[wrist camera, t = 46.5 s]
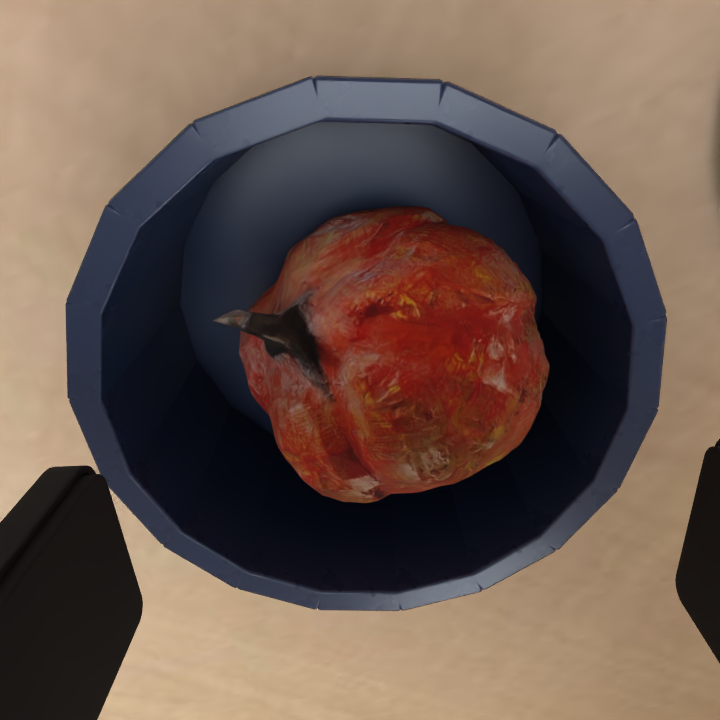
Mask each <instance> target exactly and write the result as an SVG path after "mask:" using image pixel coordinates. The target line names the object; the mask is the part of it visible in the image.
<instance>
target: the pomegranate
mask: <svg viewBox="0 0 720 720" xmlns="http://www.w3.org/2000/svg"><path fill="white" fill-rule="evenodd" d="M536 303H537V296H536V295H535V292H534V290H533V288H532V286H531V284H530V282H529V280H528V279H527V278H526V277H525V275H523V273H522V272H521V271H520V269H519V267H518V265H517V264H516V263H515V262H513V261H512V260H511V259H510V257H509V256H508V255H507V253H506V252H505V251H504V250H503V248H501V247H500V246H498V245H496V244H495V243H494V241H493V240H492V239H489V238H487V237H485V236H484V235H481V234H479V233H478V232H476V231H474V230H471V229H468V228H466V227H461V226H454V225H450V224H449V223H448V222H447V221H446V220H444V219H443V218H442V217H441V216H440V214H437V213H435V212H434V211H432V210H431V209H430V208H426V207H420V206H394V207H387V208H378V209H368V210H361V211H356V212H352V213H348V214H344V215H340V216H335V217H333V218H331V219H329V220H327V221H326V222H324V223H323V224H321V225H319V226H318V227H317V228H316V229H315V230H314V231H313V232H312V233H310V234H309V235H308V236H306V237H305V238H303V239H302V240H301V241H299V242H298V243H297V244H295V245H294V246H293V247H292V248H291V249H290V250H289V251H288V253H287V256H286V259H285V262H284V265H283V267H282V270H281V272H280V275H279V277H278V280H277V282H276V283H275V284H274V285H273V286H271V287H270V288H269V289H268V290H267V291H266V292H264V293H263V294H262V295H261V297H260V298H259V299H258V300H257V301H256V302H255V303H254V304H253V305H252V306H251V307H250V308H249V309H248V311H243V310H234V311H231V312H228V313H226V314H224V315H222V316H220V317H218V318H217V319H215V320H213V321H215V322H218V323H222V324H225V325H229V326H231V327H234V328H236V329H238V330H241V331H240V346H239V355H240V357H241V360H242V362H243V365H244V368H245V372H246V376H247V381H248V386H249V388H250V391H251V394H252V395H253V397H254V398H255V400H256V401H257V402H258V403H259V405H260V406H261V407H262V408H263V409H264V410H265V411H266V413H267V414H268V415H269V416H270V419H271V422H272V427H273V432H274V436H275V440H276V443H277V445H278V448H279V449H280V451H281V452H282V454H283V456H284V457H285V459H286V460H287V461H288V462H289V463H290V464H291V465H292V467H293V468H294V469H295V471H296V472H297V473H298V475H299V476H300V477H301V478H302V480H303V481H304V482H305V483H307V484H308V485H309V486H311V487H312V488H313V489H314V490H316V491H317V492H319V493H320V494H322V495H323V496H327V497H330V498H333V499H336V500H339V501H342V502H358V503H369V502H374V501H379V500H381V499H382V498H384V497H386V496H388V495H390V494H397V493H415V492H422V491H426V490H429V489H432V488H436V487H439V486H444V485H450V484H455V483H457V482H459V481H461V480H464V479H466V478H468V477H470V476H472V475H473V474H475V473H477V472H478V471H480V470H482V469H483V468H485V467H487V466H488V465H490V464H492V463H494V462H497V461H500V460H501V459H502V458H503V457H505V456H506V455H507V454H508V453H509V452H511V451H512V450H513V449H515V448H516V447H517V446H519V445H520V444H521V442H522V441H523V439H524V438H525V436H526V435H527V433H528V431H529V430H530V428H531V426H532V424H533V422H534V419H535V417H536V415H537V413H538V411H539V408H540V406H541V400H542V391H543V389H544V388H545V385H546V383H547V378H548V373H549V366H550V365H549V363H548V360H547V358H546V356H545V352H544V345H543V340H542V339H541V338H540V333H539V332H538V330H537V325H536V322H535V317H534V313H535V306H536Z"/></svg>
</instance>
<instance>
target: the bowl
mask: <svg viewBox="0 0 720 720" xmlns="http://www.w3.org/2000/svg"><path fill="white" fill-rule="evenodd" d="M394 206H420V207H426V208H430V209H431V210H432V211H434V212H435V213H437V214H440V216H441V217H442V218H443V219H444V220H446V221H447V222H448V223H449V224H450V225H454V226H461V227H466V228H468V229H471V230H474V231H476V232H478V233H479V234H481V235H484V236H485V237H487V238H489V239H492V240H493V241H494V243H495V244H496V245H498V246H500V247H501V248H503V250H504V251H505V252H506V253H507V255H508V256H509V257H510V259H511V260H512V261H513V262H515V263H516V264H517V265H518V267H519V269H520V271H521V272H522V273H523V275H525V277H526V278H527V279H528V280H529V282H530V284H531V286H532V288H533V290H534V292H535V295H536V296H537V303H536V306H535V313H534V317H535V322H536V325H537V330H538V332H539V333H540V338H541V339H542V340H543V345H544V352H545V356H546V358H547V360H548V363H549V365H550V366H549V373H548V378H547V383H546V385H545V388H544V389H543V391H542V400H541V406H540V408H539V411H538V413H537V415H536V417H535V419H534V422H533V424H532V426H531V428H530V430H529V431H528V433H527V435H526V436H525V438H524V439H523V441H522V442H521V444H520V445H519V446H517V447H516V448H515V449H513V450H512V451H511V452H509V453H508V454H507V455H506V456H505V457H503V458H502V459H501V460H500V461H497V462H494V463H492V464H490V465H488V466H487V467H485V468H483V469H482V470H480V471H478V472H477V473H475V474H473V475H472V476H470V477H468V478H466V479H464V480H461V481H459V482H457V483H455V484H450V485H444V486H439V487H436V488H432V489H429V490H426V491H422V492H415V493H397V494H390V495H388V496H386V497H384V498H382V499H381V500H379V501H374V502H369V503H358V502H342V501H339V500H336V499H333V498H330V497H327V496H323V495H322V494H320V493H319V492H317V491H316V490H314V489H313V488H312V487H311V486H309V485H308V484H307V483H305V482H304V481H303V480H302V478H301V477H300V476H299V475H298V473H297V472H296V471H295V469H294V468H293V467H292V465H291V464H290V463H289V462H288V461H287V460H286V459H285V457H284V456H283V454H282V452H281V451H280V449H279V448H278V445H277V443H276V440H275V436H274V432H273V427H272V422H271V419H270V416H269V415H268V414H267V413H266V411H265V410H264V409H263V408H262V407H261V406H260V405H259V403H258V402H257V401H256V400H255V398H254V397H253V395H252V394H251V391H250V388H249V386H248V381H247V376H246V372H245V368H244V365H243V362H242V360H241V357H240V355H239V346H240V331H241V330H238V329H236V328H234V327H231V326H229V325H225V324H222V323H218V322H215V321H213V320H215V319H217V318H218V317H220V316H222V315H224V314H226V313H228V312H231V311H234V310H243V311H248V309H249V308H250V307H251V306H252V305H253V304H254V303H255V302H256V301H257V300H258V299H259V298H260V297H261V295H262V294H263V293H264V292H266V291H267V290H268V289H269V288H270V287H271V286H273V285H274V284H275V283H276V282H277V280H278V277H279V275H280V272H281V270H282V267H283V265H284V262H285V259H286V256H287V253H288V251H289V250H290V249H291V248H292V247H293V246H294V245H295V244H297V243H298V242H299V241H301V240H302V239H303V238H305V237H306V236H308V235H309V234H310V233H312V232H313V231H314V230H315V229H316V228H317V227H318V226H319V225H321V224H323V223H324V222H326V221H327V220H329V219H331V218H333V217H335V216H340V215H344V214H348V213H352V212H356V211H361V210H368V209H378V208H387V207H394ZM633 217H634V216H633V213H632V212H631V211H630V210H629V209H628V208H627V206H626V205H625V204H624V203H623V202H622V201H621V200H620V199H619V198H618V196H617V195H616V194H615V193H614V192H613V191H612V190H611V189H610V188H609V186H608V185H607V184H606V183H605V182H604V181H603V180H602V179H601V178H600V176H599V175H598V174H597V173H596V172H595V171H594V170H593V169H592V168H591V166H590V165H589V164H588V163H587V162H586V161H585V160H584V159H583V158H582V157H581V155H580V154H579V153H578V152H577V151H576V150H575V149H574V148H573V147H572V145H571V144H570V143H569V142H568V141H567V140H566V139H565V138H564V137H563V135H561V134H558V133H557V132H556V131H555V129H552V128H550V127H548V126H546V125H544V124H541V123H539V122H537V121H535V120H533V119H530V118H528V117H526V116H524V115H522V114H519V113H517V112H515V111H513V110H511V109H508V108H506V107H504V106H502V105H499V104H497V103H495V102H493V101H491V100H488V99H486V98H484V97H482V96H480V95H477V94H475V93H473V92H471V91H469V90H466V89H464V88H462V87H460V86H458V85H455V84H453V83H451V82H443V81H442V80H440V79H412V78H379V77H347V76H316V77H307V78H304V79H302V80H299V81H297V82H294V83H291V84H289V85H286V86H283V87H281V88H278V89H275V90H273V91H270V92H267V93H265V94H262V95H260V96H257V97H254V98H252V99H249V100H246V101H244V102H241V103H238V104H236V105H233V106H230V107H228V108H225V109H223V110H220V111H217V112H215V113H212V114H209V115H207V116H204V117H201V118H199V119H196V120H194V121H193V123H191V124H189V125H188V126H187V127H186V128H185V129H183V130H182V131H181V132H180V133H179V134H178V135H177V136H176V137H175V138H174V139H173V140H172V141H171V142H170V143H169V144H168V145H167V146H166V147H165V148H164V149H163V150H162V151H161V152H159V153H158V154H157V155H156V156H155V157H154V158H153V159H152V160H151V161H150V162H149V163H148V164H147V165H146V166H145V167H144V168H143V169H142V170H141V171H140V172H139V173H138V174H137V175H135V176H134V177H133V178H132V179H131V180H130V181H129V182H128V183H127V184H126V185H125V186H124V187H123V188H122V189H121V190H120V191H119V192H118V193H117V194H116V195H115V196H114V197H113V198H111V199H110V201H109V204H107V205H106V206H105V208H104V210H103V213H102V215H101V218H100V220H99V222H98V225H97V227H96V230H95V232H94V235H93V237H92V239H91V242H90V244H89V247H88V249H87V252H86V254H85V256H84V259H83V261H82V264H81V266H80V269H79V271H78V273H77V276H76V278H75V281H74V283H73V286H72V288H71V290H70V293H69V295H68V298H67V302H66V342H67V388H68V398H69V402H70V404H71V407H72V409H73V411H74V414H75V416H76V418H77V421H78V423H79V425H80V428H81V430H82V432H83V435H84V437H85V439H86V442H87V444H88V446H89V449H90V451H91V453H92V456H93V458H94V460H95V463H96V465H97V467H98V470H99V472H100V474H101V475H103V476H104V477H105V479H106V481H107V484H108V487H109V488H110V489H111V490H112V491H113V492H114V493H115V494H116V495H117V496H118V498H119V499H120V500H121V501H122V502H123V503H124V504H125V505H126V506H127V507H128V508H129V509H130V511H131V512H132V513H133V514H134V515H135V516H136V517H137V518H138V519H139V520H140V521H141V523H142V524H143V525H144V526H145V527H146V528H147V529H148V530H149V531H150V532H151V533H152V534H153V536H154V537H155V538H156V539H157V540H158V541H159V542H160V543H161V544H164V547H165V548H167V549H169V550H170V551H172V552H174V553H176V554H177V555H179V556H181V557H182V558H184V559H186V560H188V561H189V562H191V563H193V564H194V565H196V566H198V567H200V568H201V569H203V570H205V571H206V572H208V573H210V574H212V575H213V576H215V577H217V578H218V579H220V580H222V581H224V582H225V583H227V584H229V585H230V586H232V587H234V588H236V587H237V588H238V589H240V590H244V591H248V592H251V593H255V594H259V595H263V596H266V597H270V598H274V599H278V600H281V601H285V602H289V603H293V604H296V605H300V606H304V607H308V608H311V609H317V608H318V609H319V610H363V611H399V610H400V609H401V610H403V611H404V610H408V609H412V608H416V607H420V606H424V605H428V604H432V603H436V602H440V601H445V600H449V599H453V598H457V597H461V596H465V595H469V594H473V593H477V592H481V591H482V589H483V590H485V589H487V588H489V587H491V586H493V585H495V584H496V583H498V582H500V581H502V580H504V579H506V578H507V577H509V576H511V575H513V574H515V573H517V572H518V571H520V570H522V569H524V568H526V567H528V566H529V565H531V564H533V563H535V562H537V561H539V560H540V559H542V558H544V557H546V556H548V555H549V554H551V553H553V552H555V551H556V549H557V550H558V549H560V548H561V547H562V546H563V545H564V544H565V543H566V542H567V541H568V540H569V539H570V538H571V537H572V536H573V535H574V534H575V533H576V532H577V531H578V530H579V529H580V528H581V527H582V526H583V525H584V524H585V523H586V522H587V521H588V520H589V519H590V518H591V517H592V516H593V515H594V514H595V513H596V512H597V511H598V510H599V509H600V508H601V507H602V506H603V505H604V504H605V503H606V502H607V501H608V500H609V499H610V498H611V497H612V496H613V495H614V494H615V493H616V492H617V490H618V488H620V486H621V484H622V482H623V480H624V478H625V476H626V474H627V472H628V470H629V468H630V466H631V464H632V462H633V460H634V458H635V456H636V454H637V452H638V450H639V448H640V446H641V444H642V442H643V440H644V438H645V436H646V434H647V432H648V430H649V428H650V426H651V424H652V422H653V420H654V418H655V416H656V414H657V412H658V409H657V408H658V406H659V397H660V387H661V376H662V365H663V355H664V344H665V334H666V323H667V318H666V315H665V314H666V309H665V306H664V303H663V300H662V297H661V294H660V291H659V288H658V285H657V282H656V278H655V275H654V272H653V269H652V266H651V263H650V260H649V257H648V254H647V251H646V248H645V244H644V241H643V238H642V235H641V232H640V229H639V226H638V223H637V220H636V219H635V218H633Z"/></svg>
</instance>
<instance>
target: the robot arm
mask: <svg viewBox="0 0 720 720" xmlns="http://www.w3.org/2000/svg"><path fill="white" fill-rule="evenodd" d="M676 589H677V593H678V596H679V599H680V600H681V602H682V604H683V606H684V607H685V609H686V611H687V612H688V614H689V615H690V617H691V618H692V620H693V622H694V623H695V625H696V626H697V628H698V630H699V631H700V633H701V634H702V636H703V638H704V639H705V641H706V642H707V644H708V645H709V647H710V649H711V650H712V652H713V653H714V655H715V657H716V658H717V660H718V661H719V663H720V439H719V440H718V441H717V442H716V445H715V447H710V448H708V450H707V451H706V453H705V455H704V459H703V464H702V468H701V472H700V476H699V481H698V485H697V489H696V493H695V498H694V502H693V506H692V510H691V514H690V519H689V523H688V527H687V531H686V536H685V540H684V544H683V548H682V552H681V557H680V561H679V565H678V569H677V574H676ZM142 608H143V601H142V595H141V592H140V589H139V586H138V582H137V579H136V576H135V572H134V569H133V566H132V563H131V559H130V556H129V553H128V550H127V546H126V543H125V540H124V537H123V533H122V530H121V527H120V523H119V520H118V517H117V514H116V510H115V507H114V504H113V501H112V497H111V494H110V491H109V488H108V484H107V481H106V479H105V477H104V476H103V475H100V474H96V473H95V471H94V470H93V469H92V468H91V467H90V466H65V467H52V468H49V469H47V470H46V471H45V472H44V473H43V474H42V475H41V476H40V477H39V479H38V480H37V481H36V482H35V483H34V484H33V486H32V487H31V488H30V489H29V490H28V491H27V492H26V494H25V495H24V496H23V497H22V498H21V499H20V501H19V502H18V503H17V504H16V505H15V506H14V507H13V509H12V510H11V511H10V512H9V513H8V514H7V516H6V517H5V518H4V519H3V520H2V521H1V522H0V720H97V719H98V717H99V714H100V712H101V710H102V707H103V705H104V703H105V701H106V698H107V696H108V694H109V691H110V689H111V687H112V684H113V682H114V680H115V678H116V675H117V673H118V671H119V668H120V666H121V664H122V661H123V659H124V657H125V654H126V652H127V650H128V648H129V645H130V643H131V641H132V638H133V636H134V634H135V631H136V629H137V627H138V624H139V622H140V619H141V615H142Z"/></svg>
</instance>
